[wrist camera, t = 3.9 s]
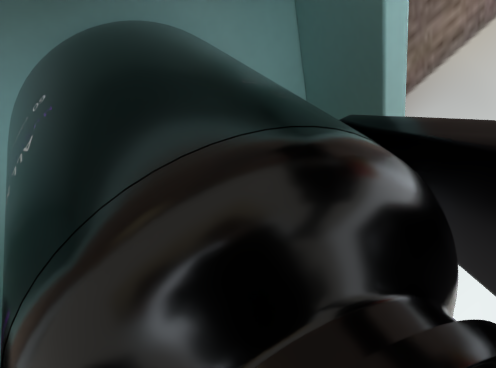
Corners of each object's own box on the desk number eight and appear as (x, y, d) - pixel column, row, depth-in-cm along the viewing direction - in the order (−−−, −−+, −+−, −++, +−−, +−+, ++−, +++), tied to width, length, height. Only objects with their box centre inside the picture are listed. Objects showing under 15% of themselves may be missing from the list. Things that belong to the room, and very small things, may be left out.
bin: (296, -145, 11) (417, -182, 8) (329, 189, 18) (401, 246, 14) (-327, 0, 7) (-598, 45, 4) (10, 348, 14) (8, 471, 11)
